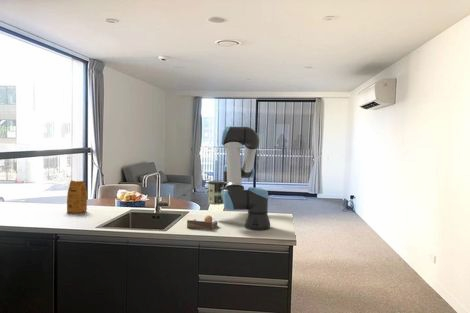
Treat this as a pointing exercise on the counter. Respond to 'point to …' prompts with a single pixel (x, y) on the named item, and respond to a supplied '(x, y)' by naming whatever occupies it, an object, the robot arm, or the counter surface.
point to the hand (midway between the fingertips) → (213, 192)
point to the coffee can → (215, 192)
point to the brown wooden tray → (201, 225)
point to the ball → (208, 218)
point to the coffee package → (77, 197)
